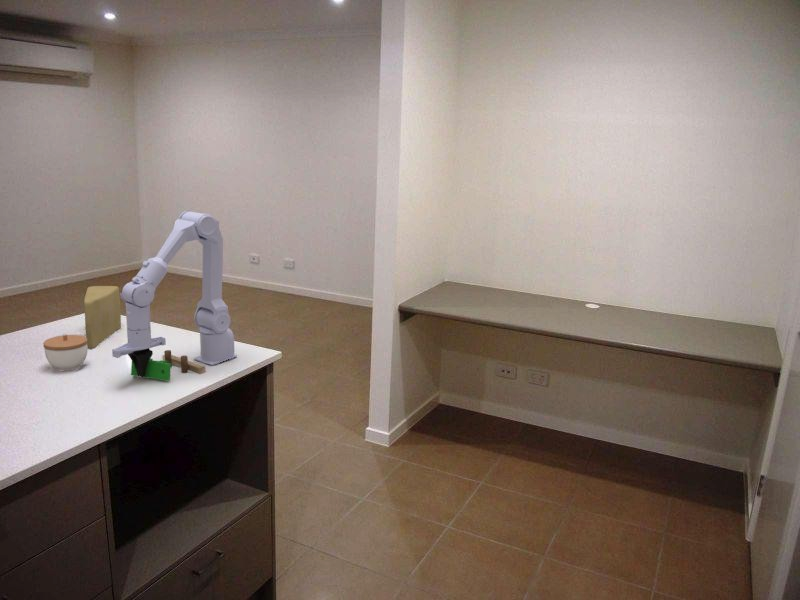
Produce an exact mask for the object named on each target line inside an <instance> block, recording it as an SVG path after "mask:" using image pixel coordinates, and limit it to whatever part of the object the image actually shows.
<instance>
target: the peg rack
mask: <svg viewBox="0 0 800 600" xmlns="http://www.w3.org/2000/svg"><path fill="white" fill-rule="evenodd" d="M161 358H162V361H164V360H165V361H167V363H170V364H171V367H172V366H175V367H178V368H180V372H181V374H185V373H188V372H189V371H190V372H192V373H195V374H198V375H202V374H204V373H206V366H205V365H203V364H200V363H197V362H194V361H192V360H189V359H188V355H181V356H180V357H179V356H176V355H173V354H172V350H170V349H168V350H164V354H162V355H161Z"/></svg>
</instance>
